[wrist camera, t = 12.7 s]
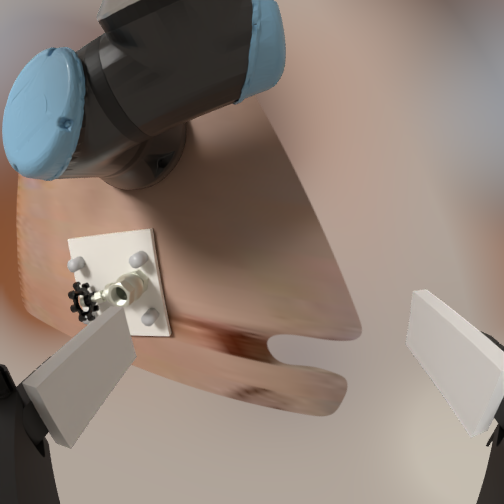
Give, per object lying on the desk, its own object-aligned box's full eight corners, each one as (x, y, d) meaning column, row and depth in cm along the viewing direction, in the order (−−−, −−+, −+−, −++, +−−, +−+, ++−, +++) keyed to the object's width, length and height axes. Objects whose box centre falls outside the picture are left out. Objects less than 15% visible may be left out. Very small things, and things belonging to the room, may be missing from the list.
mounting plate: (71, 238, 42) (58, 242, 39) (152, 228, 41) (143, 232, 38) (92, 330, 46) (83, 339, 43) (171, 333, 45) (164, 343, 41)
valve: (141, 256, 41) (84, 276, 43) (121, 268, 35) (61, 290, 36) (157, 297, 42) (100, 312, 44) (140, 315, 36) (79, 329, 37)
